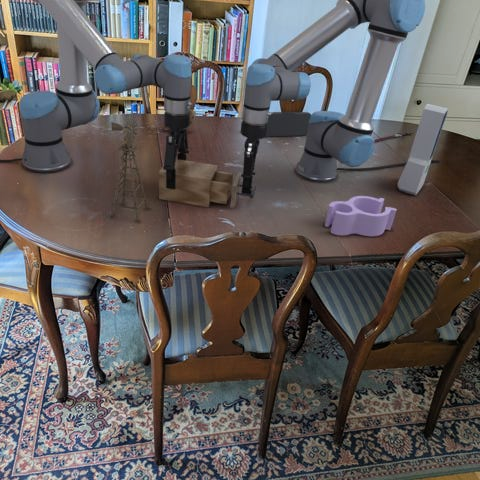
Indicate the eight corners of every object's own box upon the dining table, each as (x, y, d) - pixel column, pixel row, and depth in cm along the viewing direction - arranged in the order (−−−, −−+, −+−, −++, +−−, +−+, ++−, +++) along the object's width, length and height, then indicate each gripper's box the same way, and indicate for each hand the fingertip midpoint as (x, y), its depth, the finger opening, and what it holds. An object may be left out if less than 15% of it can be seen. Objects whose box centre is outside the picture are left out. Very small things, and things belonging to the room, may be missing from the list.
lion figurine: (193, 128, 201) (194, 107, 196) (196, 133, 197) (197, 112, 192) (159, 129, 196) (159, 108, 192) (162, 134, 192) (162, 112, 187)
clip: (337, 240, 135) (342, 219, 131) (318, 218, 145) (322, 198, 141) (395, 233, 141) (402, 213, 137) (373, 213, 151) (378, 194, 147)
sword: (407, 132, 223) (408, 129, 223) (413, 134, 221) (413, 131, 221) (364, 143, 208) (365, 141, 207) (370, 146, 206) (370, 143, 205)
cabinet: (216, 191, 154) (218, 165, 149) (208, 207, 145) (210, 180, 139) (169, 184, 155) (169, 157, 150) (158, 198, 146) (158, 171, 141)
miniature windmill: (137, 222, 133) (134, 119, 117) (109, 216, 134) (102, 114, 118) (149, 207, 141) (147, 109, 125) (122, 202, 142) (117, 104, 126)
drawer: (255, 196, 152) (258, 175, 147) (251, 210, 143) (253, 189, 139) (195, 186, 153) (196, 165, 149) (187, 200, 145) (188, 178, 141)
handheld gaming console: (306, 133, 210) (309, 111, 204) (308, 135, 207) (312, 113, 202) (258, 134, 202) (261, 112, 197) (260, 137, 200) (263, 114, 195)
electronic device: (415, 196, 164) (443, 113, 148) (394, 190, 167) (419, 107, 151) (423, 185, 173) (451, 105, 157) (404, 179, 176) (428, 100, 160)
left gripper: (178, 126, 126) (177, 198, 138) (199, 102, 145) (197, 167, 157) (151, 122, 127) (152, 194, 138) (176, 99, 146) (175, 164, 158)
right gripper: (264, 131, 128) (254, 206, 140) (270, 116, 138) (260, 188, 151) (237, 126, 128) (230, 202, 141) (245, 113, 139) (237, 184, 152)
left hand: (176, 180), depth 148 cm, fingers closed on cabinet, 11 cm apart
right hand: (245, 194), depth 146 cm, fingers closed
